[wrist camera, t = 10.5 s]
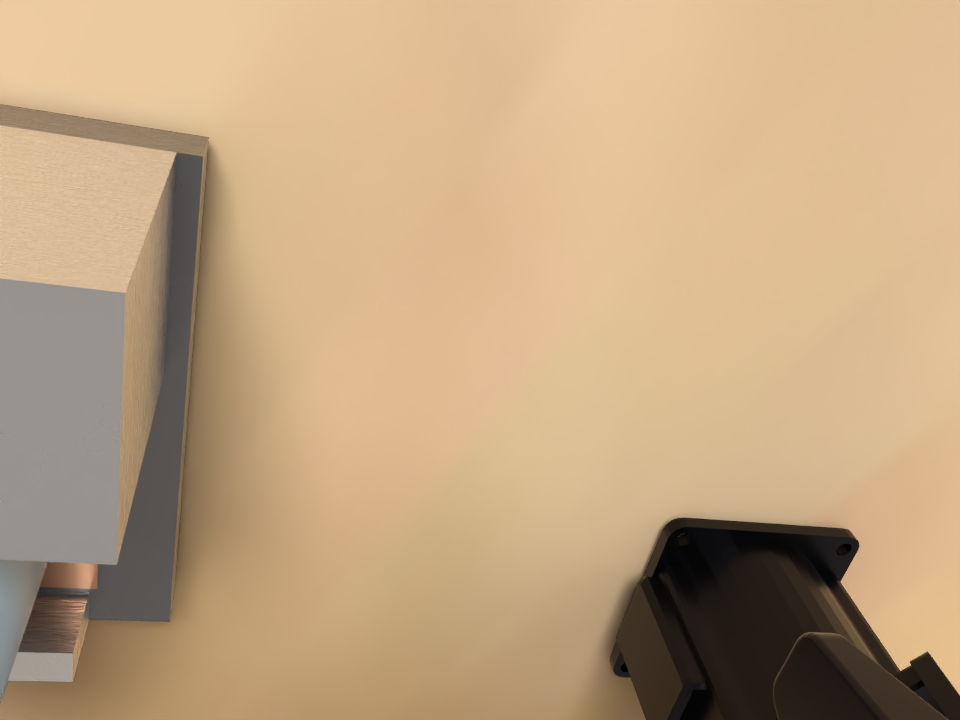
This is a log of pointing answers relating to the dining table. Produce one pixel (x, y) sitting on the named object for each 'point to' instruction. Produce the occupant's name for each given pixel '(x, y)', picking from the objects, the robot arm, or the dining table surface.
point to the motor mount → (94, 368)
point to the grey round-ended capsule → (16, 608)
